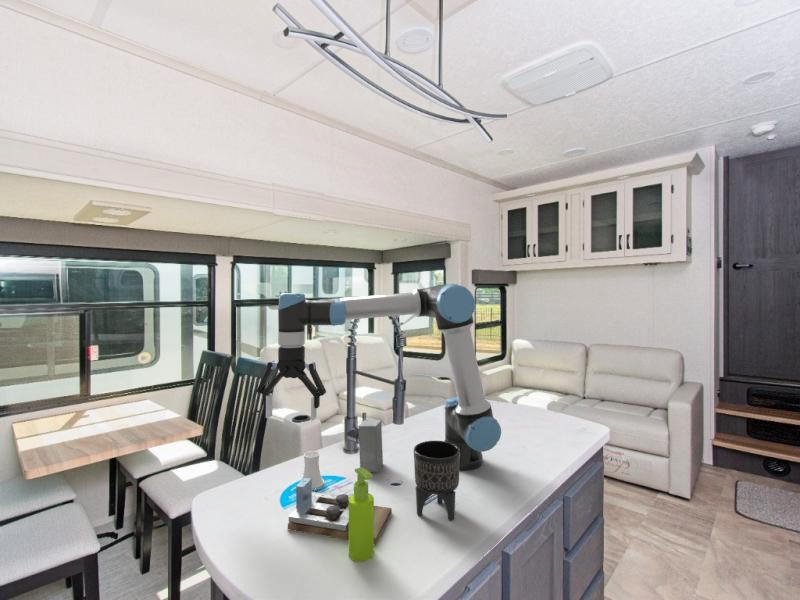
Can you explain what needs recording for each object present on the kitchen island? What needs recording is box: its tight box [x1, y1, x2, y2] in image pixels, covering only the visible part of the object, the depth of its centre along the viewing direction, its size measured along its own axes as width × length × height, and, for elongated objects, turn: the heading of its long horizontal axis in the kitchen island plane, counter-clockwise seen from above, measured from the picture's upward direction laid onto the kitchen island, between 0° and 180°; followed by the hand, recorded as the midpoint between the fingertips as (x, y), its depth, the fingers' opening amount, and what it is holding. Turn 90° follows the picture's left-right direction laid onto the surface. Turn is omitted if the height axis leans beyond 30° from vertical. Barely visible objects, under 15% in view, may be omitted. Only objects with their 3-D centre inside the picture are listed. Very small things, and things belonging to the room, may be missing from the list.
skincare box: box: [357, 419, 384, 473], centre depth 140 cm, size 8×7×16 cm
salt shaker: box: [299, 450, 325, 491], centre depth 127 cm, size 8×8×10 cm
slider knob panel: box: [288, 478, 349, 531], centre depth 108 cm, size 16×13×7 cm
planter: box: [413, 440, 461, 522], centre depth 112 cm, size 13×13×18 cm
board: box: [287, 493, 393, 546], centre depth 107 cm, size 24×14×5 cm, turn 75°
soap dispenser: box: [348, 466, 375, 563], centre depth 94 cm, size 6×7×20 cm
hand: (291, 417), depth 118 cm, fingers open, 13 cm apart
